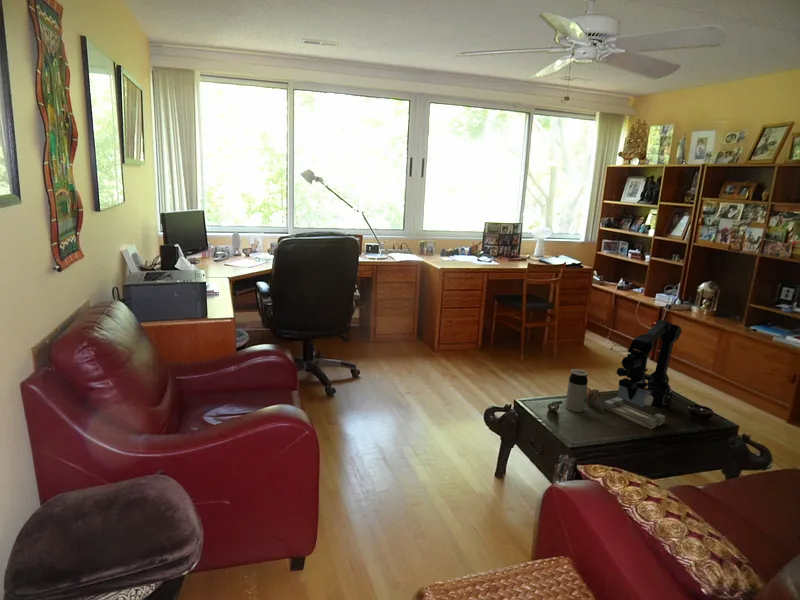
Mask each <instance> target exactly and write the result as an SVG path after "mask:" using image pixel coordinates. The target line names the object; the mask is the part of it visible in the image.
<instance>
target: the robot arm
mask: <svg viewBox="0 0 800 600" xmlns="http://www.w3.org/2000/svg"><path fill="white" fill-rule="evenodd" d="M682 332H683V331H682V328H681V326H680V325H677V324H673V323H671V322H670V321H667V320H663V319H660V320H657V322H656V324H655V325H654V326H652V327H651V328H650V329H649V330H648V331H647V332H646V333H645V334H640V335H637V336H635V338H634V339H633V340H632V341H631V344H630V346H629V347H628V348H627V355H626V356H625V357H623V358H622V360H621V365H622V367H618V368H617V370H616V372H615V373H616V374H617V376H618V377H624V378H622V379H620V380H618V386H619V385H620V386H623V387H626V388H627V390H628V395H629V399H630V400H632V399H633V397H634V395H635V393H636V392H637V390H638V388H640V389H643V390H646V388H647V391H648V390H649V391H651V393H650V394H651V395H650V396H653V402H652V404H651V405H653V406H656V407H659V408H661V407H663V406H666V405H667V402H665V397H666V396H669V395H670V393H671V392H672V391H671V390H672V388H671V386H670V384H669V382H670V377H669V375H668V368H669V364H670V359H671V357H672V356H671V355H672V351H673V347H674V343H675V342H677V341H678V340H679V338H680V336H681V335H682ZM659 338H660V340H661V345H660V349H659V354H658V357H657V362H656V368H655V370H654V372H652V373H650V374H649V373H646V372H648V368H647V363H648V356H650V353H651V352H652V350H653V349H654V343H655V342H656V341H657V340H658V339H659Z"/></svg>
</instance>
